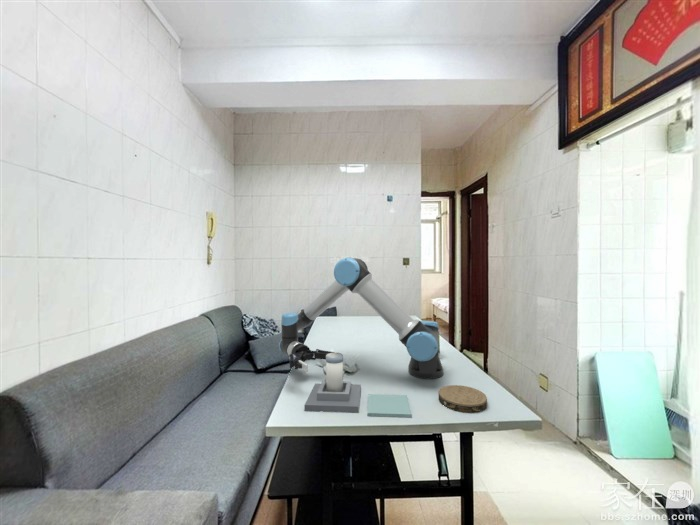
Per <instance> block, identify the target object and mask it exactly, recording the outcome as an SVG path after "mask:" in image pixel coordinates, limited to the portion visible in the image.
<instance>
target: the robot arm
mask: <svg viewBox="0 0 700 525" xmlns="http://www.w3.org/2000/svg"><path fill="white" fill-rule="evenodd" d="M368 268H369V267H368V265H367V264H366V262H365V261H364V260H362V259H361V258H355V257H354V258H353V257H345V258H341V259H340V260H339V261H337V262H336V264H335V265H334V268H333V277H334V279H335V280H334V281H333V282H332V283H330V285H329V286H328V287H327V288H326V289H325V290H324V291H322V292H321V293H320V294H319V295H317V297H316V298H314V300H312V301H311V302H310V303H309V304H307V305H306V307H305V308H304V309H302V310H301V311H300V312H299V313H297V312H285V313H283V314H282V315H281V322H280V324H281V339H280V340H279V342H278V349H279V351H280V352H281V353H282V354H284V355H286V356H288V357H289V360H288V361H289V368H290V369H293V368H294V370H299V369H300V370H301V371H304V372H305V373H308V372H309V371H308V370H309V369H308V368H309V366H308V364H307V362H306V361H310V360H313V361H316V360H326V355H327V354H329V353H336V352H334V351H330V350H329V351H328V350H324V349H323V350H322V349H319V348H316V349H315V350H311V349H310V347H309V346H308V345H306V344H304V343H303V342H299V331H301V330H303V329H305V328H308V327H310V325H312V324H313V322H314V321H315V320H316V319H317V318H318V317H319V316H320V315H322V314H323V313H324V312H325V311H326V310H327V309H329V307H331V305H333V304H334V303H335V302H336V301H337V300H339V299H340V298H341V297H342V296H343V295H344V294H345V293H347V292H348V291H350V292H351V293H352V294H358V295H359V296H360V297H361V298H362V299H363V301H365V302H366V303H367V304H368V305H369V306H370V307H371V309H373V310H374V311H375V312H376V313H377V315H379V316H380V317H381V318H382V319H383V321H385V323H387V324H388V325H389V326H390V328H392V329H393V331H395V332H396V333H397V334H398V340H399V342H400V343H401V344H403V345H404V346H405V348H406V351H407V353H408V355H409V356H410V360H409V363H408V367H407V368H408V374H410V375H411V376H413V377H416V378H420V379H427V378H432V379H438V378H441V377H442V376H443V375H444V368H443V365H442V362H441V357H440V358H439V342H440V331H439V330H440V327H439V323H438V322H437V321H433V320H419V319H414V318H412V317H411V316H410V315H409V314H408V313H407V312H406V311H405V310H404V308H402V307H401V306H400V305H399V304H398V303H397V302H396V301H395V300H394V299H393V298H392V297H391V296H389V294H388V293H387V292H386V291H385V290H383V288H382V287H381V286H380V285H378V283H377V282H375V281H374V279H373V277H372V273H371V272H370V271H369V269H368ZM440 376H441V377H440ZM437 377H438V378H437Z"/></svg>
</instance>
